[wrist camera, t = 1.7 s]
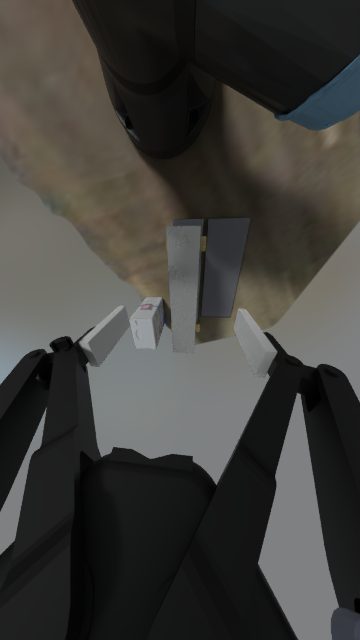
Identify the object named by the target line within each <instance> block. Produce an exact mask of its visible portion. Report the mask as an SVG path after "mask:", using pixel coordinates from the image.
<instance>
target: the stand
mask: <svg viewBox="0 0 360 640" xmlns="http://www.w3.org/2000/svg"><path fill="white" fill-rule="evenodd" d="M203 221H204V219H179V220H173V226H201V233H200V251H199V270H198V289H197V307H196V332H199V331H200V321H197V319H198V303H199V287H200V270H201V254H202V251H205V250H206V237H207V236H203ZM166 252H168V251H167V237H166ZM171 331H172V321H171Z"/></svg>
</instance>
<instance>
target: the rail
mask: <svg viewBox="0 0 360 640" xmlns="http://www.w3.org/2000/svg"><path fill="white" fill-rule="evenodd" d="M200 233H201V226H168V227H166V234H167V251H168V268H169V285H170V303H171V320H172V337H173V352H184V353H194V345H195V326H196V307H197V289H198V270H199V251H200Z"/></svg>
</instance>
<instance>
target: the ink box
mask: <svg viewBox="0 0 360 640" xmlns="http://www.w3.org/2000/svg"><path fill="white" fill-rule="evenodd" d="M164 323H165V320H164V310H163V298H162V297H146V298H145V300H144V301H143V302H142V304H141V305H140V306H139V307H138V309H137V310H136V311H135V313H134V314H133V315H132V317H131V318H130V324H131V328H132V333H133V337H134V341H135V346H136V348H137V349H156V348H157V345H158V342H159V339H160V336H161V333H162V330H163V326H164Z"/></svg>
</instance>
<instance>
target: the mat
mask: <svg viewBox="0 0 360 640" xmlns="http://www.w3.org/2000/svg"><path fill="white" fill-rule="evenodd" d="M250 220H251V218H221V219H208V231H207V244H206V257H205V271H204V284H203V297H202V310H201V316H218V317H230V316H231V311H232V306H233V301H234V296H235V292H236V287H237V282H238V277H239V273H240V268H241V263H242V258H243V253H244V249H245V244H246V239H247V234H248V229H249V225H250Z"/></svg>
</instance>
